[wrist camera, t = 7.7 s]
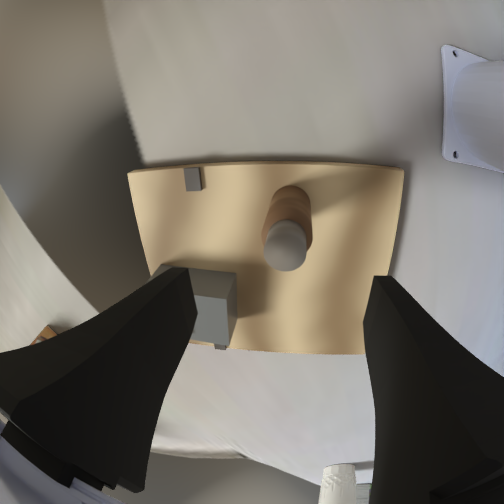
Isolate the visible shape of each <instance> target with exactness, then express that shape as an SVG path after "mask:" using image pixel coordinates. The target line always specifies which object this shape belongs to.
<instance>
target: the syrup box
mask: <svg viewBox="0 0 504 504" xmlns="http://www.w3.org/2000/svg"><path fill="white" fill-rule="evenodd" d="M356 492H357V504H369V499H370V493H371V484H356Z"/></svg>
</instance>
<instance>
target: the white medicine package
mask: <svg viewBox="0 0 504 504" xmlns="http://www.w3.org/2000/svg"><path fill="white" fill-rule="evenodd" d="M318 504H357V492H356V476H355V465H352V464H337V465H331V466H327V467H325V468H324V471H323V479H322V483H321V489H320V495H319V503H318Z"/></svg>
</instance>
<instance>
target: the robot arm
mask: <svg viewBox="0 0 504 504" xmlns="http://www.w3.org/2000/svg"><path fill="white" fill-rule="evenodd" d="M453 51H454V52H455V53H456V57H455V56H454V55H453ZM441 54H442V66H443V85H444V123H443V142H442V156H443V158H444V159H446V160H448V161H452V162H457V163H462V164H467V165H472V166H476V167H481V168H485V169H489V170H493V171H497V172H501V173H504V60H500V61H489V60H486V59H484V58H482V57H479V56H477V55H475V54H472V53H470V52H467V51H464V50H462V49H459V48H456V47H453V46H450V45H444V46H442V48H441ZM454 151H456V156H455V157H453V152H454ZM197 315H198V311H197V307H196V302H195V298H194V293H193V289H192V284H191V279H190V274H189V270H188V268H179V267H172V268H170V269H168V270H166V271H165V272H163V273H161V274H160V275H158V276H157V277H155V278H154V279H152V280H151V281H149V282H148V283H146V284H145V285H144V286H142V287H141V288H139V289H138V290H136V291H134V292H133V293H132V294H130V295H129V296H127V297H126V298H124V299H122V300H121V301H119V302H118V303H116V304H114V305H113V306H111V307H110V308H108V309H107V310H105V311H103V312H102V313H100V314H98V315H97V316H95V317H93V318H91V319H90V320H88V321H86V322H84V323H82V324H80V325H78V326H76V327H74V328H72V329H70V330H68V331H65V332H63V333H61V334H58V335H56V336H54V337H51V338H49V339H47V340H44V341H41V342H38V343H36V344H33V345H29V346H26V347H23V348H19V349H16V350H11V351H7V352H2V353H0V412H1V413H2V414H3V415H4V416H5V417H6V418H7V419H8V422H7V424H5V423H3V422H2V421H1V420H0V504H126V503H124V502H121V501H120V500H117V499H115V498H113V497H111V496H109V495H107V494H105V493H103V492H101V491H102V488H103V486H106V487H108V488H110V489H112V490H114V489H115V487H116V485H117V486H120V487H122V488H124V489H126V490H129V491H131V492H133V493H138V492H141V491H143V490H144V487H145V478H146V471H147V464H148V459H149V454H150V449H151V444H152V439H153V435H154V432H155V428H156V424H157V420H158V416H159V413H160V410H161V407H162V403H163V400H164V397H165V394H166V392H167V389H168V387H169V384H170V382H171V380H172V378H173V376H174V373H175V371H176V369H177V367H178V365H179V363H180V360H181V358H182V356H183V354H184V352H185V349H186V347H187V345H188V343H189V340H190V338H191V335H192V332H193V329H194V326H195V322H196V319H197ZM363 333H364V346H365V352H366V358H367V363H368V369H369V374H370V380H371V386H372V392H373V398H374V406H375V459H374V470H373V479H372V487H371V493H370V499H369V504H504V377H503V376H501V375H500V374H498V373H497V372H495V371H494V370H493V369H491V368H490V367H488V366H487V365H486V364H484V363H483V362H482V361H480V360H479V359H478V358H477V357H475V356H474V355H473V354H472V353H470V352H469V351H468V350H467V349H466V348H465V347H463V346H462V345H461V344H460V343H459V342H458V341H456V340H455V339H454V338H453V337H452V336H451V335H450V334H449V333H448V332H447V331H446V330H445V329H444V328H443V327H441V326H440V325H439V324H438V323H437V322H436V321H435V320H434V319H433V318H432V317H431V316H430V315H429V314H428V313H427V312H426V311H425V310H424V309H423V308H422V306H421V305H420V304H419V303H418V302H417V301H416V300H415V299H414V298H413V297H412V296H411V295H410V294H409V293H408V292H407V291H406V290H405V289H404V288H403V287H402V286H401V285H400V284H399V283H398V282H397V281H396V280H395V279H394V278H393V277H392V276H379V275H374V277H373V281H372V286H371V290H370V295H369V299H368V303H367V307H366V311H365V315H364V319H363Z"/></svg>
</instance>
